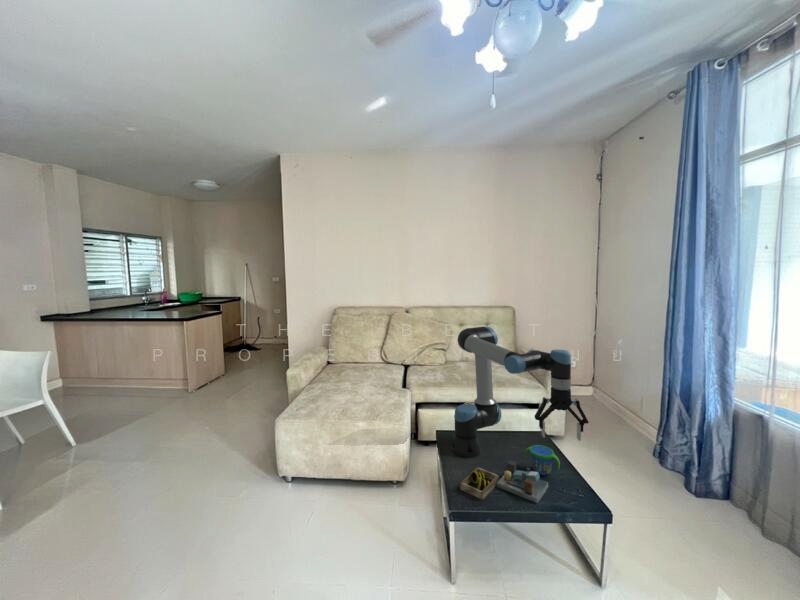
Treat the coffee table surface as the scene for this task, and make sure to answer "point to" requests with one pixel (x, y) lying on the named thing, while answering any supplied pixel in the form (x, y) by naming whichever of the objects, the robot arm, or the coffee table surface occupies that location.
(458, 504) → the coffee table surface
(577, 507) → the coffee table surface
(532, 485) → the brown rectangular block
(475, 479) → the opera glasses
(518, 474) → the block
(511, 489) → the panel
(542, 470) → the snack cup
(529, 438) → the coffee table surface
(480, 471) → the wooden tray
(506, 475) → the ochre button
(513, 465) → the dark grey block
